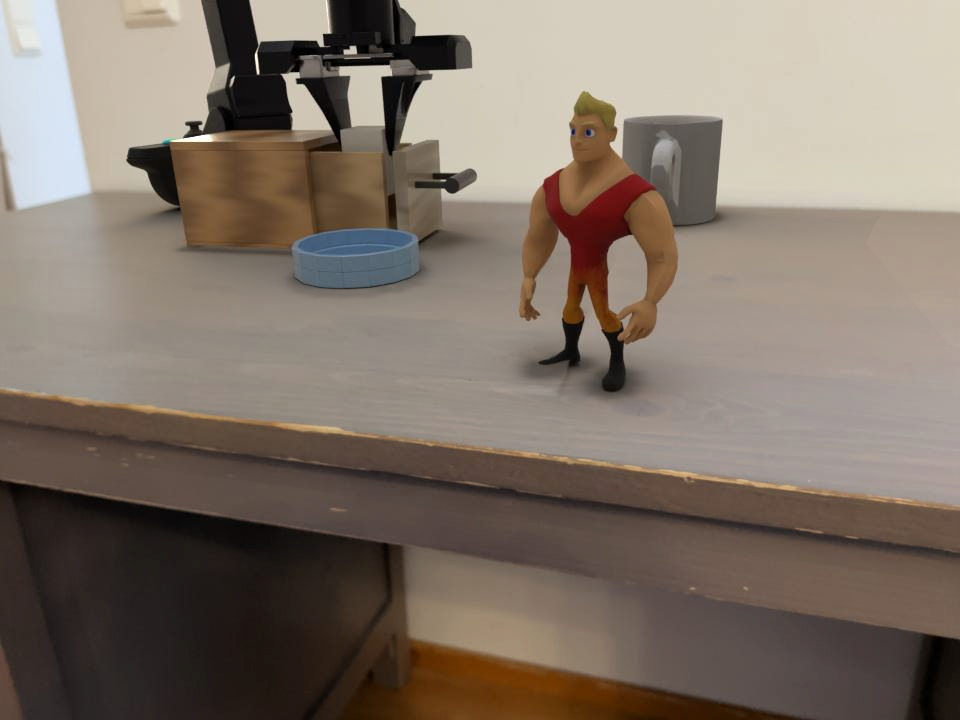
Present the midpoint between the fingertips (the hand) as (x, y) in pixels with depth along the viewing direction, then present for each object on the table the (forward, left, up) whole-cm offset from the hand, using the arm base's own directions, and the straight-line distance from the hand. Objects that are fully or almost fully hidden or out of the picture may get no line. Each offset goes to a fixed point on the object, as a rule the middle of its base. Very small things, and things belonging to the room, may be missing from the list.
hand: (371, 155), depth 73 cm
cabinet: (0, -11, -8) cm, 14 cm away
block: (0, 0, -4) cm, 4 cm away
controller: (-15, -32, -8) cm, 36 cm away
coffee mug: (-15, +26, -8) cm, 31 cm away
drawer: (0, +1, -7) cm, 7 cm away
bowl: (+12, +3, -8) cm, 15 cm away
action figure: (+29, +24, -8) cm, 39 cm away
